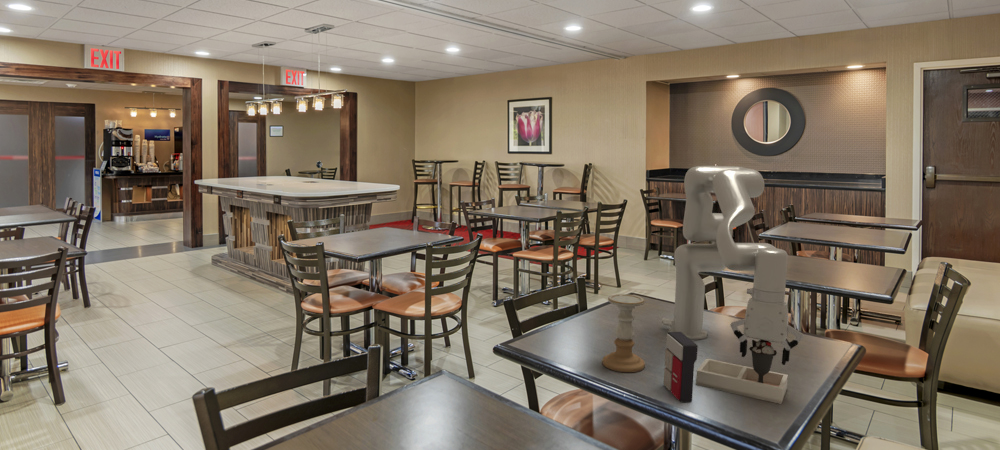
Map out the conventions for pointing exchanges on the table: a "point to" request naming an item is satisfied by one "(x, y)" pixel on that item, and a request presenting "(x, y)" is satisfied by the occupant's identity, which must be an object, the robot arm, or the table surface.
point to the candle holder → (624, 336)
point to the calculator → (680, 365)
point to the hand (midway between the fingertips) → (763, 359)
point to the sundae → (762, 357)
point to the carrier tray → (742, 380)
